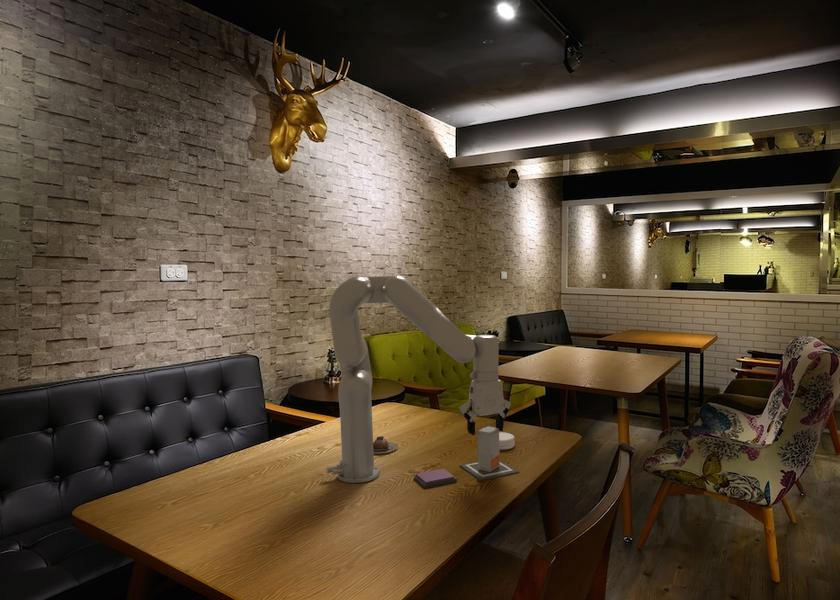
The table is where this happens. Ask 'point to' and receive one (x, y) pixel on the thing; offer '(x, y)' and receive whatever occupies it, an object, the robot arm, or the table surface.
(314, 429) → the table surface
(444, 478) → the ink pad
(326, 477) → the table surface
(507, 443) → the white round disc
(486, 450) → the skincare box
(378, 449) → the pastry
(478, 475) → the mat
